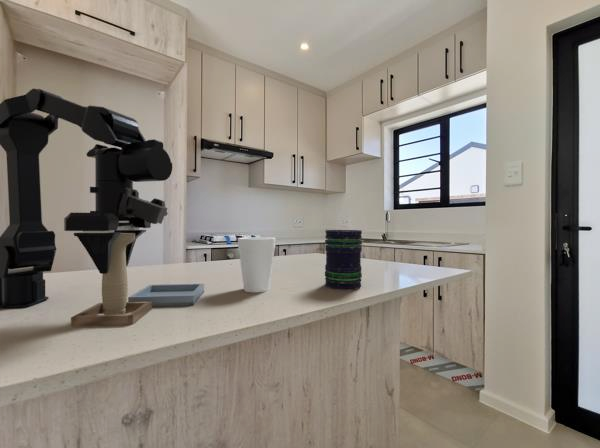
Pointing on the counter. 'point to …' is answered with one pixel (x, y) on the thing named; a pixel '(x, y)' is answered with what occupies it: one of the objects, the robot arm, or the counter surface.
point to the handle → (116, 277)
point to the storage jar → (343, 259)
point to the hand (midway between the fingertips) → (114, 269)
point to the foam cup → (256, 262)
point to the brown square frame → (92, 319)
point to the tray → (169, 294)
